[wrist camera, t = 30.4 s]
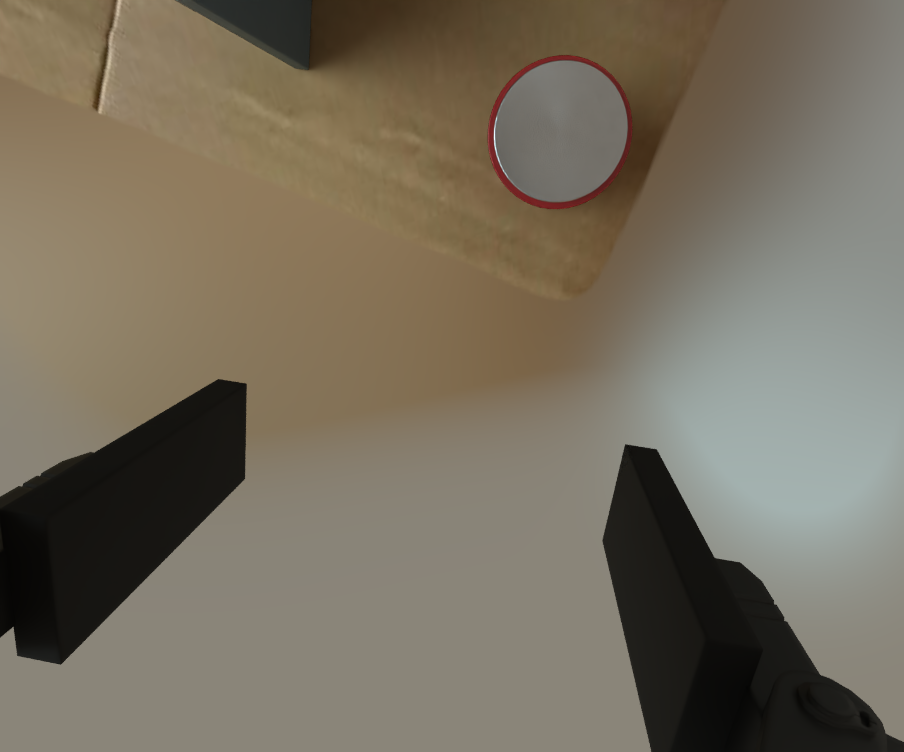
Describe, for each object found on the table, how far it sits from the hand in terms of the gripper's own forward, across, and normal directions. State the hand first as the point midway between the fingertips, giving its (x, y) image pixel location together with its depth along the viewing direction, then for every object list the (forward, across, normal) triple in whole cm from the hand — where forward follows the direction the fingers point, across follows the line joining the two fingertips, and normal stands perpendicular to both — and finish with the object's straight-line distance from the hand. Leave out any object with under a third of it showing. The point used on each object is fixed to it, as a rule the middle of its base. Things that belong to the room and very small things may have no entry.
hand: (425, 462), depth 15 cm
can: (+28, +3, +10) cm, 29 cm away
